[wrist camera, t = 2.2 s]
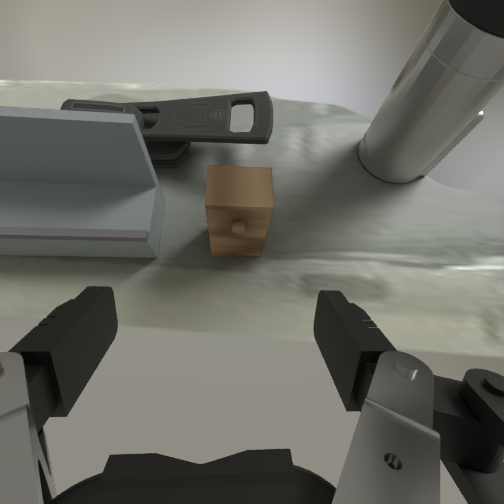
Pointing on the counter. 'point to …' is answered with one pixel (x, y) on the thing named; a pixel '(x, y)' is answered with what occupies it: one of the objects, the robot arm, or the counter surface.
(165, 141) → the zipper pull
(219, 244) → the cabinet
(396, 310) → the counter surface
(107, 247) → the board
